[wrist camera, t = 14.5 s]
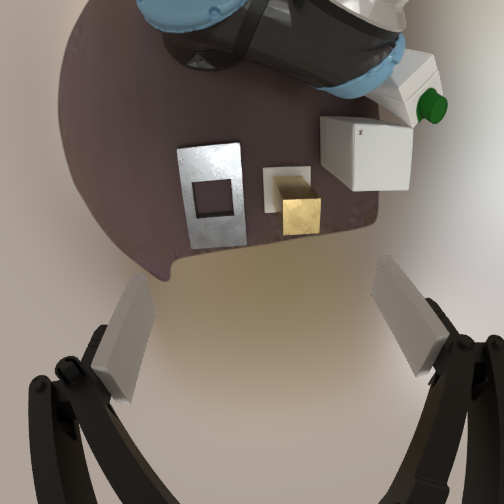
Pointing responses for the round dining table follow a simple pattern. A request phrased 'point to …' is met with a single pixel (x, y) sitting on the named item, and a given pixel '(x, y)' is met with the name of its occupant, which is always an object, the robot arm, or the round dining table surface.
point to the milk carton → (413, 89)
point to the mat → (278, 172)
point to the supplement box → (366, 152)
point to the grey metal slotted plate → (204, 169)
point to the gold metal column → (296, 205)
